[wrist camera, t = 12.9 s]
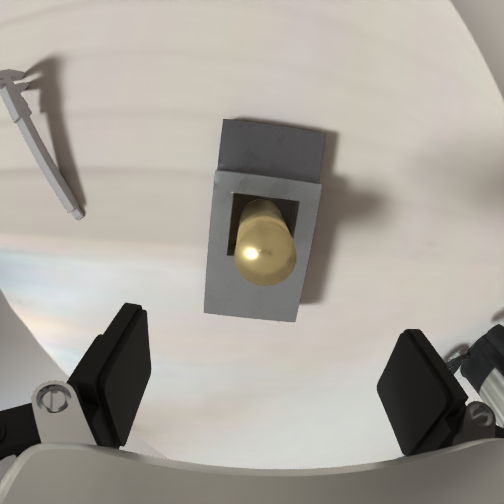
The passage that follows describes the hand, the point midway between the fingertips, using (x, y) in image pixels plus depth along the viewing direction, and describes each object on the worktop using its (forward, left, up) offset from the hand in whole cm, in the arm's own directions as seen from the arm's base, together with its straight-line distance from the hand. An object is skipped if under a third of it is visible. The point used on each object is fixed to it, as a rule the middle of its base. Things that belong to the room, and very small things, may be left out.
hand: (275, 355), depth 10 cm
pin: (0, 0, -20) cm, 20 cm away
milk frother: (+18, +35, -20) cm, 44 cm away
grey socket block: (0, 0, -20) cm, 20 cm away
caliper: (-7, -25, -20) cm, 33 cm away
